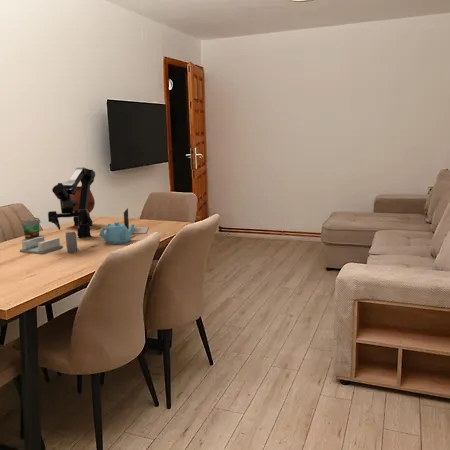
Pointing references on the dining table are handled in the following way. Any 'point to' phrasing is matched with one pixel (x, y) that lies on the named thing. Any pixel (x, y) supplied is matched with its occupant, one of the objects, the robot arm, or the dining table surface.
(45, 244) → the vise
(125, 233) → the teapot
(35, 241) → the block
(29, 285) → the dining table surface
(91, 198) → the brown clay vase
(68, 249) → the steel block
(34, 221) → the food container
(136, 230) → the laptop
